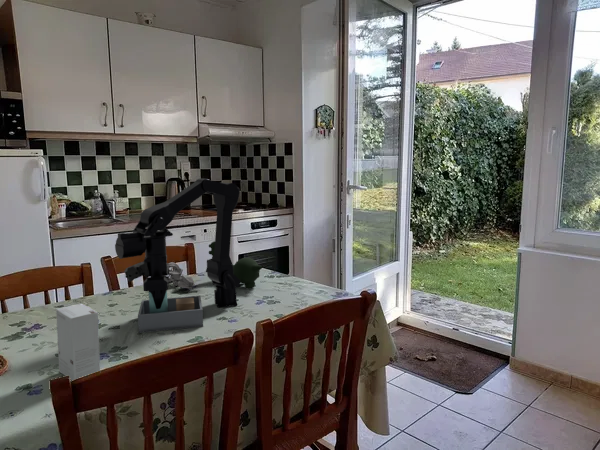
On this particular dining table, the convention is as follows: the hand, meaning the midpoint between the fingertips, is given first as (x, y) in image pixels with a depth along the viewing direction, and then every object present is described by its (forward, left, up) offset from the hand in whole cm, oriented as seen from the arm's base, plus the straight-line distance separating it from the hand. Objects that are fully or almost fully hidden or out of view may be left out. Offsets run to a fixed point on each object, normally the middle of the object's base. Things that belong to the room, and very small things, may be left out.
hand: (158, 305), depth 125 cm
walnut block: (-7, 0, -4) cm, 9 cm away
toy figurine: (-26, -31, -5) cm, 41 cm away
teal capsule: (0, 0, -2) cm, 2 cm away
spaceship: (-2, -42, -5) cm, 43 cm away
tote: (-3, 0, -5) cm, 6 cm away
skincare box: (+16, +27, -5) cm, 32 cm away
